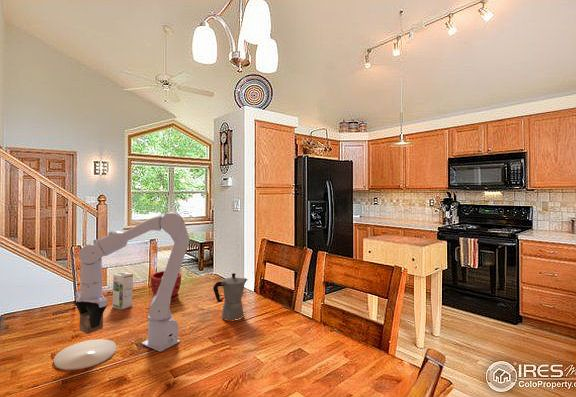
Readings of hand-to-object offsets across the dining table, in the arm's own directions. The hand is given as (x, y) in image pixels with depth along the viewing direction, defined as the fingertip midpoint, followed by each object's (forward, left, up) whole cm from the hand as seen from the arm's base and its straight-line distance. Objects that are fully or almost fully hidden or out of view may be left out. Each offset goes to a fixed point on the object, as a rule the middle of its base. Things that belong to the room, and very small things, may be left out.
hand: (90, 324), depth 97 cm
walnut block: (0, 0, -2) cm, 2 cm away
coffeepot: (-19, -44, -9) cm, 49 cm away
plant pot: (+19, -43, -9) cm, 48 cm away
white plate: (-1, +2, -8) cm, 9 cm away
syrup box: (+27, -27, -9) cm, 39 cm away
